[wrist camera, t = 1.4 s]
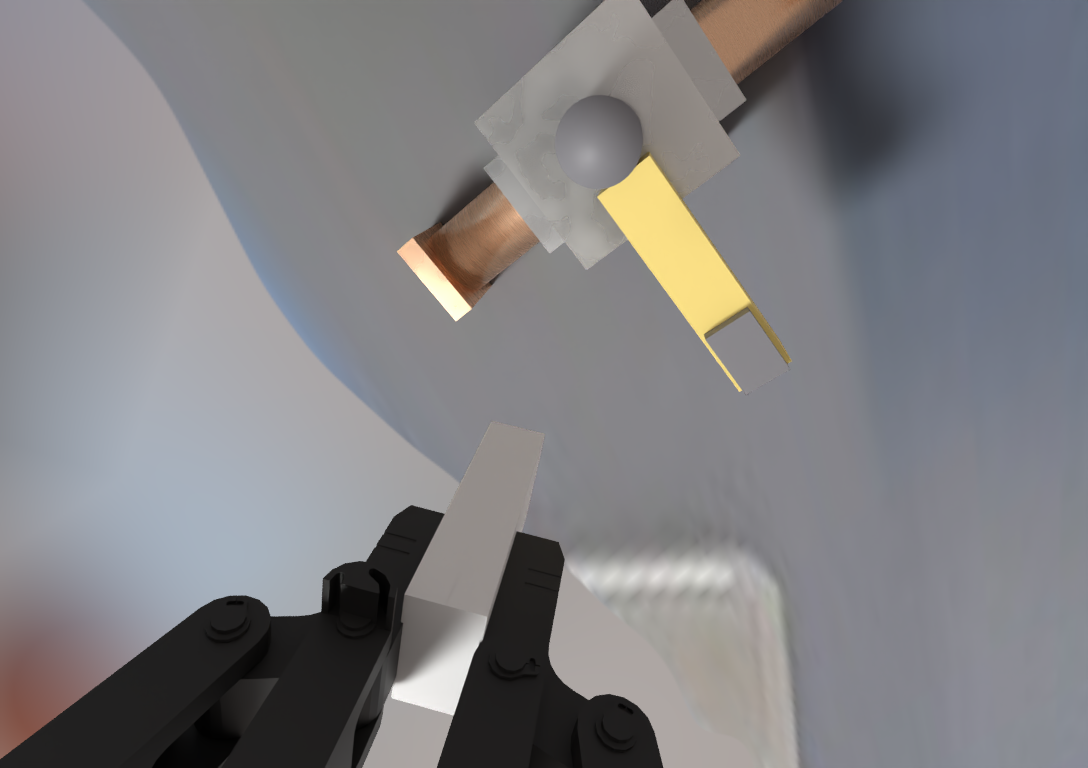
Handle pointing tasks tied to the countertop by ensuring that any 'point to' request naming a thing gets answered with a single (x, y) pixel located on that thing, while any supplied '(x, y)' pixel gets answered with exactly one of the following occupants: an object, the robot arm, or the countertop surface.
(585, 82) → the valve body
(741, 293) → the lever
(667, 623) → the countertop surface
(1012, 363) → the countertop surface
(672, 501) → the countertop surface
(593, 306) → the countertop surface
